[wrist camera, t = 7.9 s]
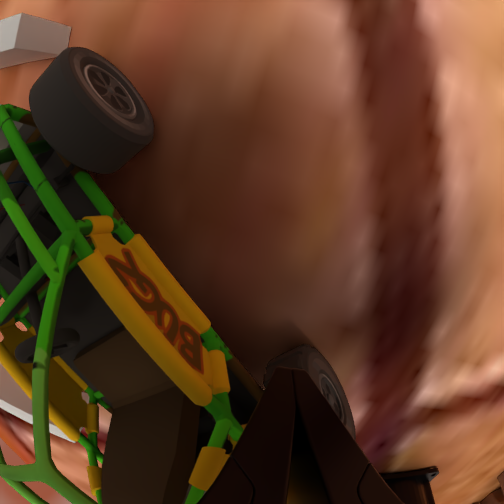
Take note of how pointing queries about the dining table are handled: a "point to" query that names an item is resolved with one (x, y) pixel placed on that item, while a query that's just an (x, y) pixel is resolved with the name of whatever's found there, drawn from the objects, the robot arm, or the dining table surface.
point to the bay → (9, 54)
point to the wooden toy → (496, 494)
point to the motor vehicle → (110, 307)
